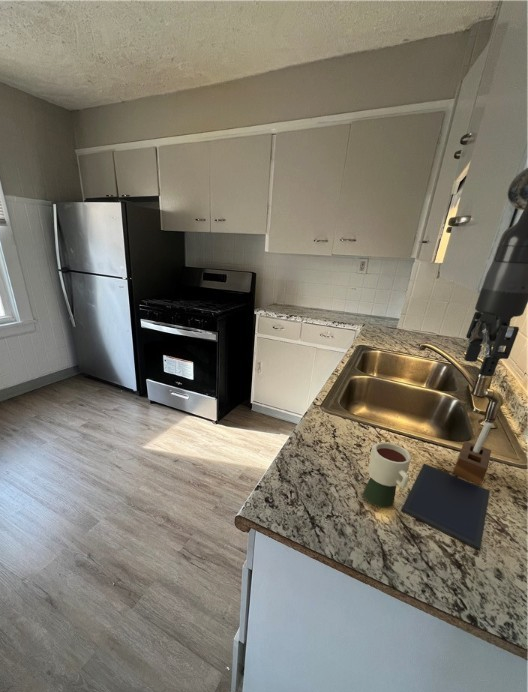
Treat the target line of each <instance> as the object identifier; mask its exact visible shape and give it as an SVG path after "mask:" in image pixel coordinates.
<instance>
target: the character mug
mask: <svg viewBox="0 0 528 692" xmlns="http://www.w3.org/2000/svg"><path fill="white" fill-rule="evenodd" d="M369 455H370V460H369V462H368V463H369V464H368V467H367V468H368V471H367V473H368V475H369V479H368V481H367V483H366V485H365V488H364V490H363V496H364V499H365V500H366V501H367V502H368V503H370V504H372V505H373V506H376V507H379V508H390V507H392V506H394V505H393V504H394V502H395V497H396V491H397V486H399V488H402V489H403V490H405V488H406V487H407V485H408V483H409V480H410V476H409V475H408V471H409V467H410V464H411V459H412V458H411V457H412V456H411V454H410V452H409V451H408V450H407V449H406V448H404V447H402V446H401V445H398V444H396V443H393V442H387V441H386V442H383V441H382V442H378V443H376V444H375V443H374V444H372V446H371V450H370V453H369Z"/></svg>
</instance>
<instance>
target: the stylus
mask: <svg viewBox="0 0 528 692" xmlns="http://www.w3.org/2000/svg"><path fill="white" fill-rule="evenodd" d="M492 426H493V423H490V422H488V421H485V423H484V424H483V426H482V428H481V431H480V433H479V435H478V437H477V440H476V442H475V443H474V444H475V446H474V449H473V452H475V453H478V454H479V452H480V450H481V448H482V447H484V443H485V441H486V439H487V437H488V435H489V432H490V430H491V429H492Z"/></svg>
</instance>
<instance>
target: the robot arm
mask: <svg viewBox="0 0 528 692" xmlns="http://www.w3.org/2000/svg"><path fill="white" fill-rule="evenodd" d="M507 200H508V202H509V204H510V206H512V207H513V208H515V209H517V210H520V211H522V213H521V214H520V216H519V218H518V220H517V221H516V222H515V224H514V225H512V226H510V227H508V228H507V229H505V230H504V231H503V233H502V234H501V236H500V239H499V240H498V244H497V246H496V250H495V253H494V255H493V257H492V262H491V264H490V266H489V268H488V270H487V271H486V275H485V277H484V280H483V283H482V287H481V289H480V291H479V295H478V298H477V300H476V303H475V307H474V310H475V312H474V314H473V316H472V319H471V322H470V326H469V328H468V330H467V333H466V335H465V337H466V339H467V340H468V341H467V343H468V346H467V348H466V349H467V350H466V352H465V355H464V358H463V359H464V361H466V362H470V363H471V362H472V363H475V362H477V361H478V359H479V357H480V353H481V350H482V348H483V347H484V348H485V351H484V352H485V353H484V354H485V356H484V358H483V360H482V363H481V366H480V368H479V371H478V374H479V375H480V376H481V377H482V376H483V377H493V376H494V374H495V371H496V369H497V367H498V364H499V362H500V360H508V359H509V357H510V355H511V352H512V350H513V348H514V344H515V342H516V339H517V337H518V333H519V330H520V327H519V326H512V325H511V321H512V318H514V317H516V318H517V317H521V316H522V315H524V313H525V311H526V309H527V306H528V167H526V168H524V169H523V170H522V171H521V172H519V173H518V174H517V175H516V176H515V177H514V178H513V179H512V181H510V184H509V186H508V189H507Z"/></svg>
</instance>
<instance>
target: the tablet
mask: <svg viewBox="0 0 528 692" xmlns="http://www.w3.org/2000/svg"><path fill="white" fill-rule="evenodd" d="M490 493H491V490H490V489H487V488H484V487H483V486H481V485H477V484H475V483H472V482H470V481H468V480H465V479H463V478H460V477H458V476H455V475H453V474H452V473H451V474H450V473H449V472H446V471H444V470H441V469H438V468H437V467H433V466H431V465H429V464H427V463H423V464H422V466H421V467H420V470H419V473H418V474H417V476H416V479H415V481H414V483H413V484H412V487H411V489H410V491H409V493H408V495H407V497H406V498H405V500H404V503H403V505H402V507H401V510H400V511H401V512H402V513H403V514H406V515H408V516H410V517H412V518H414V519H416V520H418V521H420V522H422V523H424V524H426V525H428V526H430V527H432V528H433V529H435V530H438V531H439V532H442V533H443V534H445V535H447V536H450V537H451V538H453V539H455V540H457V541H459V542H461V543H463V544H465V545H467V546H468V547H471V548H473V549H475V550H476V551H481V548H482V542H483V541H482V540H483V537H484V528H485V523H486V518H487V510H488V505H489V498H490Z"/></svg>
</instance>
